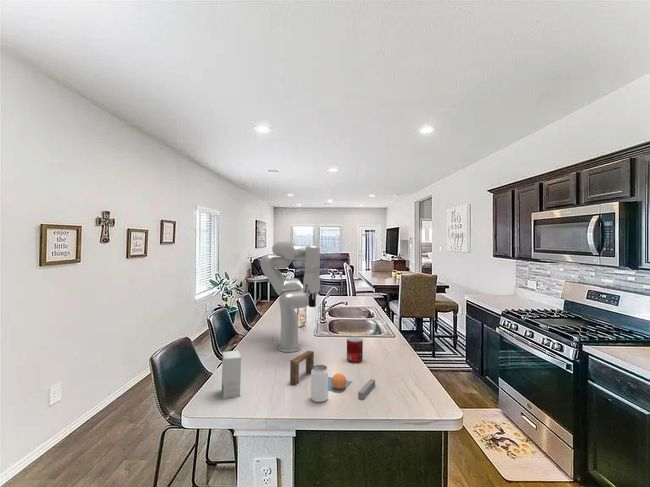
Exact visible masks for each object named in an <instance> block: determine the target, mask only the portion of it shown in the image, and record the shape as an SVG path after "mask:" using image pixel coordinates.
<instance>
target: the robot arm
mask: <svg viewBox="0 0 650 487" xmlns="http://www.w3.org/2000/svg"><path fill="white" fill-rule="evenodd" d="M320 249H321V248H320V246H318V245H311V244H310V245H309V244H302V245H301V244H296V243H295V242H293V241H277V242H275V243H274V244H273V245H272V248H271V250H272V253H269V254H265V255H263V256H261V258H260V267H261V268H260V269H261V271H262V272H263V274H264V276H265V277H266V278H267V280H269V282H270V284H271V285H272V287H273V290H274V292H275V293H276V294H277V295H278V296H279V297H278V298H279V299H278V302H279V303H278V304H279V309H280V310H279V311H280V339H278V338H277V339H276V341H275V344H276V345H278V347H277V350H278V351H279V352H281V353H295V352H298V351H300V350H301V348H302V347H301V345H300V344H299V317H298V313H297V312H296V309H303V308H306V307H310V308H316V306H317V303H316V302H317V301H316V300H317V295H318V294H319V292H320V291H321V276H320V273H321V272H320V271H321V270H320V269H321V268H320V267H321V264H320V263H321V257H320V255H321V250H320ZM298 260H299V261H301V260H304V275H303V283H302V281H301V280H300V279H298V278H293V277H291V278H288V277H285V275H284V274H283V273H282V272H281V271H280V270H279V269H281V268H287V267H289V265H290V264H291V263H292V261H298ZM278 268H279V269H278Z"/></svg>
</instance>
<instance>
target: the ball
mask: <svg viewBox="0 0 650 487" xmlns="http://www.w3.org/2000/svg"><path fill="white" fill-rule="evenodd" d="M346 380H347V377H346V376H345V374H342V373H335V374H334V375H332V385H333V386H334V387H335V388H336V389H342V388H344V387H345V385H346Z"/></svg>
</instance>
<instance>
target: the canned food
mask: <svg viewBox="0 0 650 487" xmlns="http://www.w3.org/2000/svg"><path fill="white" fill-rule="evenodd" d="M363 341H364V340H363V338H362V337H360V336H349V337H347V338H346V360H347V362H349V363H352V364H358V363H362V361H363V359H364V358H363V355H364V354H363V350H364V348H363V347H364V344H363V343H364V342H363Z"/></svg>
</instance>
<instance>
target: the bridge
mask: <svg viewBox="0 0 650 487" xmlns="http://www.w3.org/2000/svg"><path fill="white" fill-rule="evenodd" d="M314 351H315V350H314ZM314 351H313V350H307V351H305V352H303V353H301V354H299V355H297V356H296V357H294V358H293V359H291V360H290V361H289V366H290V367H289V368H290V369H289V376H290V377H289V382H290V384H291V385H293V386H294V385H295V386H297V385H299V383H300V382H299V380H300V369H299V368H300V363H301V362H303V361H304V360H305V374H309V375H311V371H312V367H313V366H315V365H314V364H315V363H314V361H315V360H314V359H315V355H314V353H315V352H314Z"/></svg>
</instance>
